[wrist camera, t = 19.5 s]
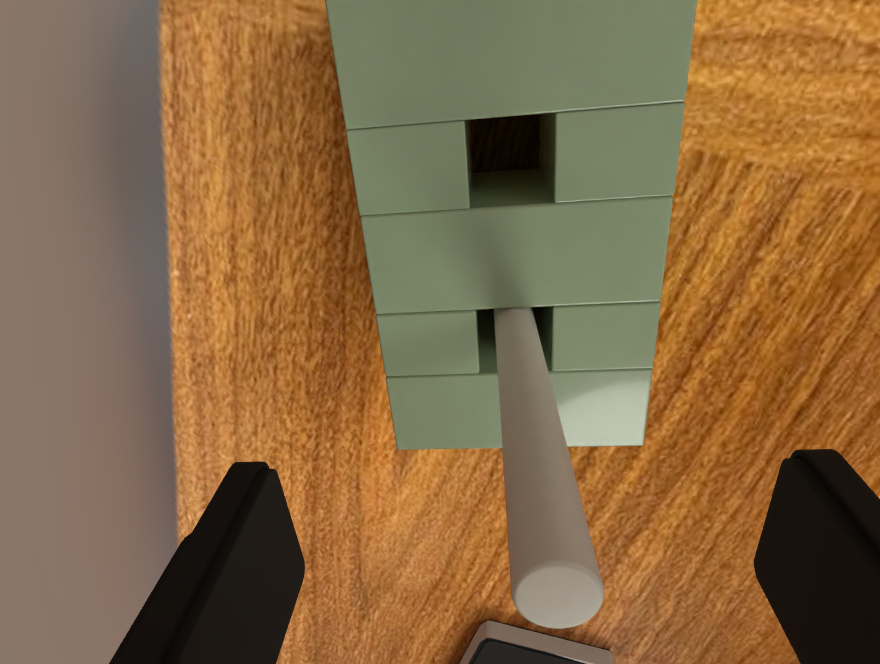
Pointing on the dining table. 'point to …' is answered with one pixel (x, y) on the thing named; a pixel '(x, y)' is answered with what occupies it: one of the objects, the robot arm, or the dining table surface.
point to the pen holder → (514, 200)
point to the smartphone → (528, 648)
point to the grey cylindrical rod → (540, 487)
